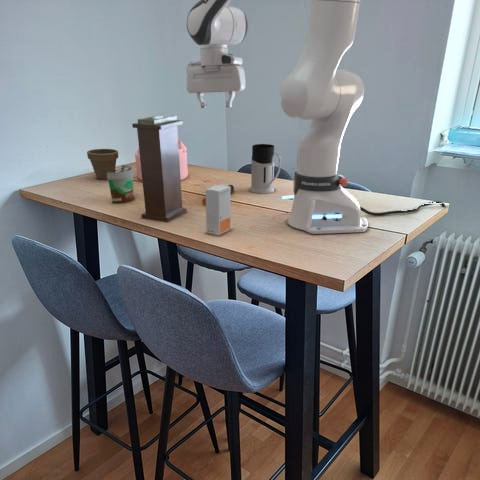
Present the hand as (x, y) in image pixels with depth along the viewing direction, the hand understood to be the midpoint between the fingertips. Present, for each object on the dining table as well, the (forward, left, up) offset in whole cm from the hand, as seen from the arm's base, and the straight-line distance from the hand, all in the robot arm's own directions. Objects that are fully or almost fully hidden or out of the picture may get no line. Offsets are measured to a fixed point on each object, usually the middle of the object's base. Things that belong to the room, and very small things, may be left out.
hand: (216, 107), depth 155 cm
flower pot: (+46, -14, -27) cm, 55 cm away
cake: (+24, -17, -27) cm, 40 cm away
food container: (+29, +16, -27) cm, 43 cm away
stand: (+13, +31, -27) cm, 43 cm away
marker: (-2, +12, -26) cm, 28 cm away
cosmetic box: (-5, +45, -27) cm, 53 cm away
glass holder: (-17, +2, -27) cm, 32 cm away
